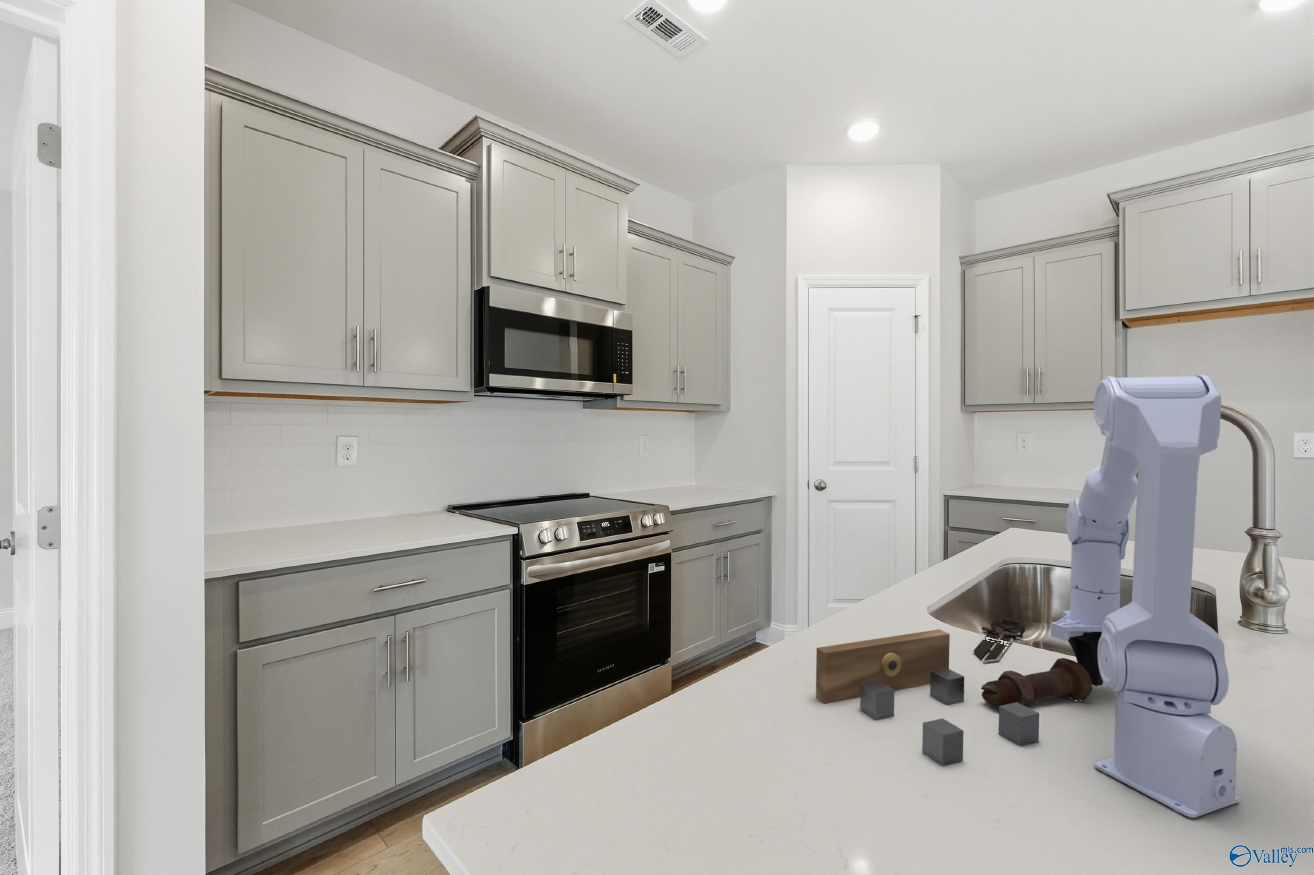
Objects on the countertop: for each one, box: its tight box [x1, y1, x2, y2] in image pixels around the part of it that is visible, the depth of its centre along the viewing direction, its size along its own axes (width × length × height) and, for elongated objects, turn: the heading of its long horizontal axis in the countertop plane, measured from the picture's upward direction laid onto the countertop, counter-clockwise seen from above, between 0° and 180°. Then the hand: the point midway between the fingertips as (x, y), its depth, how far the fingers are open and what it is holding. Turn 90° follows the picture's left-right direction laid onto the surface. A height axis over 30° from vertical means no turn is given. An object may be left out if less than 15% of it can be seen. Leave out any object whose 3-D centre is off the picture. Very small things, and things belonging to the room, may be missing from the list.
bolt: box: [980, 657, 1093, 708], centre depth 84 cm, size 6×5×15 cm
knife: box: [973, 617, 1026, 664], centre depth 106 cm, size 25×6×1 cm, turn 135°
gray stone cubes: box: [859, 668, 1040, 767], centre depth 77 cm, size 14×15×4 cm
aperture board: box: [815, 629, 951, 705], centre depth 87 cm, size 3×22×7 cm, turn 110°
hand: (1092, 682), depth 86 cm, fingers closed
